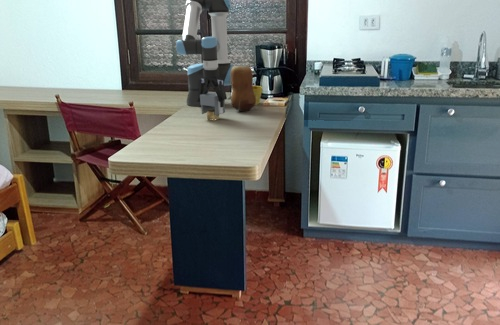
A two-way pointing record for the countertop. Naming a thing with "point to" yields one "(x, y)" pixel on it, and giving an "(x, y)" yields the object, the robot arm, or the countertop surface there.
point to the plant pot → (257, 93)
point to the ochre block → (212, 115)
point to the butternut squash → (242, 88)
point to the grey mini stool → (210, 103)
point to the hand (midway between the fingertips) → (213, 112)
